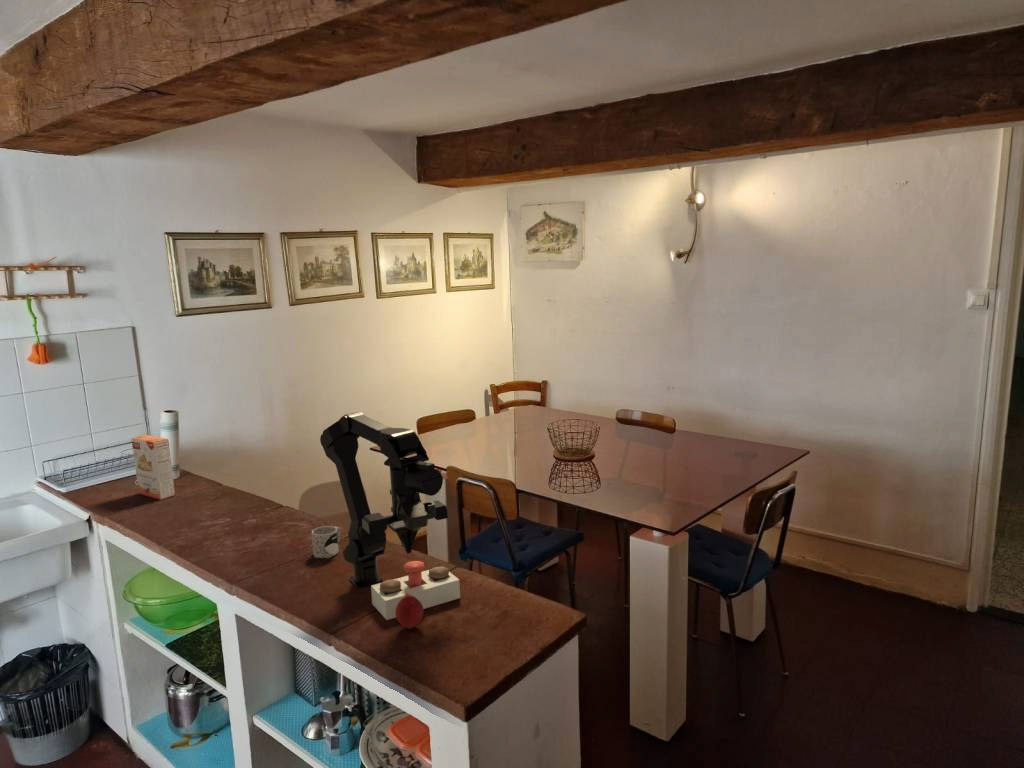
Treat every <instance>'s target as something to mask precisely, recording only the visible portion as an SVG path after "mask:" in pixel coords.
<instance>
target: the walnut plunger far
mask: <svg viewBox="0 0 1024 768" xmlns="http://www.w3.org/2000/svg"><path fill="white" fill-rule="evenodd" d="M428 570H429V576H430V577H432V578H433V581H439V580H442V579H446V576H448V574H449V572H450V570H449V568H448V567H445V566H443V567H441V566H433V567H432V568H430V569H428Z"/></svg>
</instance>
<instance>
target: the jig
mask: <svg viewBox="0 0 1024 768" xmlns="http://www.w3.org/2000/svg"><path fill="white" fill-rule="evenodd" d="M440 567H444V566H443V565H442V566H440ZM429 570H430V569H427V570H422V571H421V575H422V585H421V586H417V587H414V588H409V579H408V575H404V576H401V577H398V578H394V579H393V580H398V581H400V582H401V588H400V589H399V590H398V592H396V593H393V594H389V595H386V596H385V595H384V592H383V591H381V590H380V584H381V583H382V582H380V583H377V584H373V585H370V592H371V604H372V606H373V607H374V608H375V609H376V610H377V611H378V612H379V613H380V615H381V616H382V617H383V618H384V619H385V621H389V620H392V619H395V618H396V614H395V613H396V607H397V605H398V603H399V602H400V600H401V599H402V598H404V597H405V593H409V594H410V595H412V596H414V597H415V598H416V599H418V600H419V601H420V602H421V604H422V606H423V610H425V609H428V608H431V607H434V606H438V605H441V604H445V603H448V602H450V601H454V600H458V599H460V598H461V589H460V578H458V577H457V576H455V575H454V574H453V573H452V572H450V571H449V574H448V576H446V579H442V580H439V581H433V578H432V577H430V576H429Z"/></svg>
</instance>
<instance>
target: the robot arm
mask: <svg viewBox="0 0 1024 768" xmlns="http://www.w3.org/2000/svg"><path fill="white" fill-rule="evenodd" d="M360 438H363V439H364V440H366V441H369V442H371V443H372V444H374V445H376V446H378V447H379V451H380V453H381V454H382V455H383V456H385V457H386V458H387V459H386V460H385V461H384V462H383V465H384V466H387V467H389V475H390V489H389V495H391V506H390V510H391V513H392V514H391V515H385V516H384V515H382V514H381V513H380V512H374V513H372V512H371V510H370V506H369V502H368V499H367V498H368V497H367V495H366V492H365V491H366V490H365V489H364V484H363V481H362V478H361V477H362V476H361V474H360V470H359V466H358V463H357V459H356V457H357V454H358V450H359V440H358V439H360ZM319 441H320V442H319V443H320V444H321V446H322V449H323V451H324V453H325V456H326V457H327V458H328V459H329V460H330V461H331V462H332V463H334V465H335V468H336V472H337V474H338V475H337V476H338V478H339V483H340V484H341V489H342V493H343V497H344V500H345V503H346V507H347V509H348V514H349V518H350V521H351V522H350V526H349V529H348V533H347V535H348V544H347V545H346V547H345V549H344V550H343V551H342V554H343V558H344V561H346V562H347V563H350V564H353V566H352V567H353V576H349V580H350V582H351V583H352V584H353V585H354V586H355V587H356V588H357V589H361V588H366V587H368V586H372V585H375V584H379V583H382V582H384V579H383V578H382V577H381V576H380V575H379V573H378V572H379V571H378V563H377V562H378V557H379V556H381V555H384V554H385V550H386V545H387V533H386V531H387V529H388V528H389V529H390V530H391V531H393V532H394V533H396V534H397V537H398V538H399V541H400V543H401V545H402V547H403V549H404V552H405V553H406V554H407V555H409V554H411V553H412V549H413V546H414V543H415V541H416V537H417V534H418V532H419V530H420V529H421V528H425V527H427V526H428V521H429V520H432V519H434V520H436V521H440V520H445V519H449V517H450V513H449V512H450V511H449V508H448V506H447V505H445V503H443V502H441V501H440V500H434V501H433V500H431V501H425V502H424V501H423V502H422V500H421V497H420V494H423V495H425V496H426V495H427V496H428V497H430V496H431V497H432V496H436V495H437V494H439V492H440V490H441V489H442V487H443V484H444V478H443V475H442V473H441V472H440V470H438V469H436V467H435V465H436V464H435V463H433V462H427V461H429V460H430V458H429V455H428V454H427V453H428V452H427V450H426V449H425V447H424V446H423V444H422V442H421V440H420V438H419V436H418V435H417V433H416V432H415V430H414V429H410V428H404V427H390V426H388V425H386V424H384V423H382V422H379V421H377V420H376V419H373V418H370V417H368V416H366V415H365V413H363V412H359V411H356V412H352V413H347V414H344V415H342V416H341V417H340V418H339V420H337V421H336V422H334V423H332V424H331V425H329V426H328V427H327V428H324V429H323V431H322V434H321V435H320V439H319Z"/></svg>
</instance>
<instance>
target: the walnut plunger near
mask: <svg viewBox="0 0 1024 768" xmlns="http://www.w3.org/2000/svg"><path fill="white" fill-rule="evenodd" d="M380 583H381V584H380V590H381V591H383V592H384V595H385V596H386V595H389V594H393V593H396V592H398V590H399V589H400V588H401V582H400V581H398V580H394V579H387V580H383V582H380Z"/></svg>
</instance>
